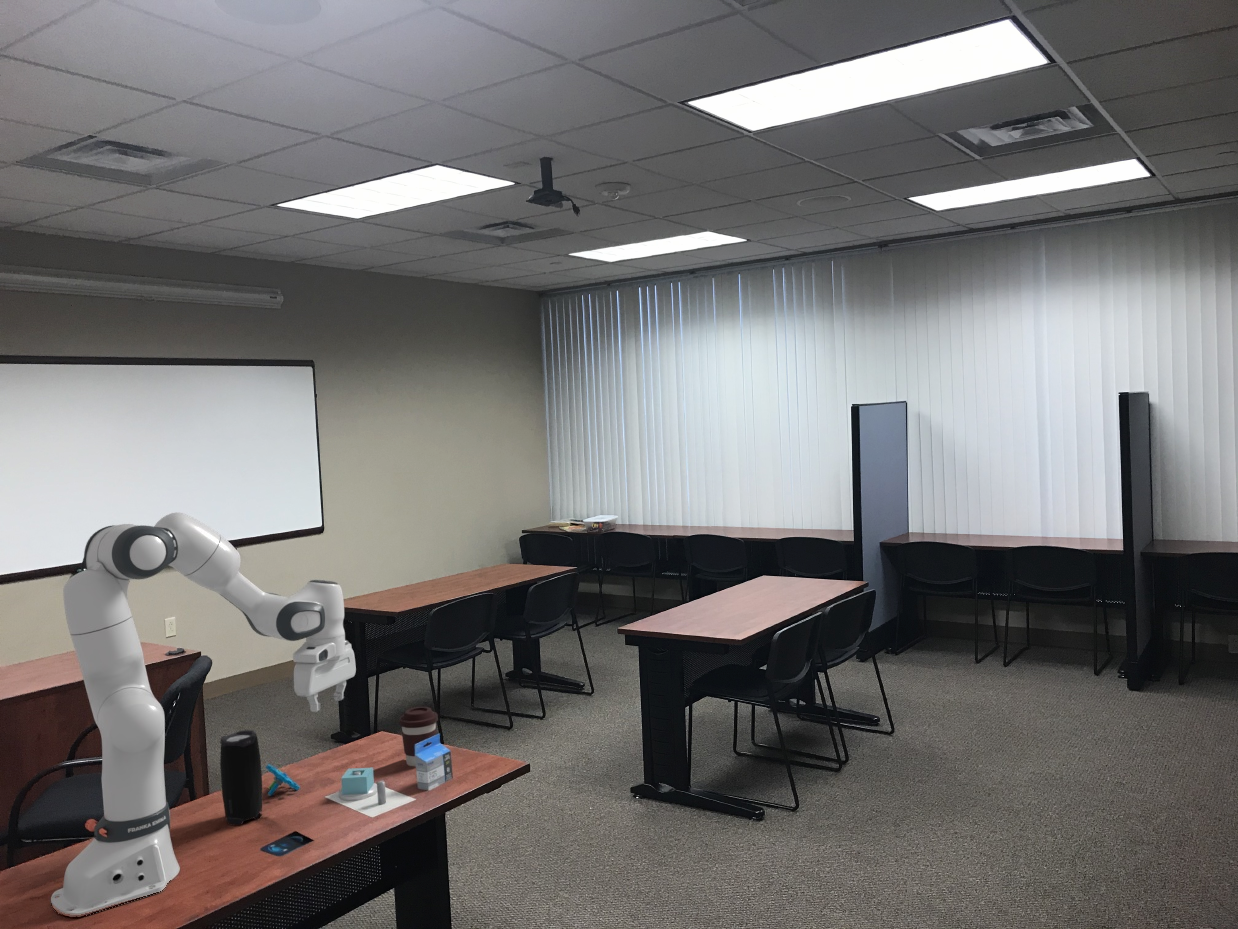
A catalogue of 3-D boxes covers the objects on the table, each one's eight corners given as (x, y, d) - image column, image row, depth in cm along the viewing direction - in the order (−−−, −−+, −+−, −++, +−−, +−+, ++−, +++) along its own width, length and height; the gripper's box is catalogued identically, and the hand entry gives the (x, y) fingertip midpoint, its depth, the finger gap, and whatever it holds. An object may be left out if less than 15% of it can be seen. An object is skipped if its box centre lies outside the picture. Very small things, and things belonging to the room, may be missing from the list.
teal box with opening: (367, 793, 216) (366, 777, 216) (342, 794, 216) (341, 778, 216) (373, 783, 222) (372, 767, 222) (349, 785, 222) (348, 768, 222)
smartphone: (257, 848, 195) (315, 821, 208) (257, 851, 195) (315, 823, 208) (280, 856, 191) (337, 827, 203) (280, 859, 191) (338, 830, 203)
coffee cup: (429, 757, 246) (426, 702, 246) (447, 766, 239) (444, 709, 238) (395, 767, 240) (392, 710, 239) (412, 777, 232) (409, 719, 232)
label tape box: (429, 797, 219) (426, 746, 218) (416, 794, 221) (413, 744, 220) (454, 784, 226) (451, 735, 226) (441, 781, 228) (438, 733, 228)
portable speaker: (250, 807, 218) (245, 726, 217) (272, 816, 212) (267, 733, 211) (216, 820, 211) (210, 737, 210) (237, 830, 205) (232, 744, 205)
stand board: (372, 824, 205) (370, 795, 205) (325, 803, 218) (323, 776, 218) (416, 805, 214) (414, 778, 214) (368, 786, 227) (366, 761, 227)
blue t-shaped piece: (304, 789, 224) (271, 765, 221) (287, 810, 221) (254, 787, 219) (298, 780, 233) (267, 758, 231) (283, 801, 231) (250, 778, 229)
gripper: (339, 638, 228) (340, 693, 228) (288, 656, 208) (289, 716, 208) (361, 639, 226) (362, 694, 226) (312, 657, 206) (313, 718, 206)
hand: (327, 705), depth 217 cm, fingers open, 8 cm apart
